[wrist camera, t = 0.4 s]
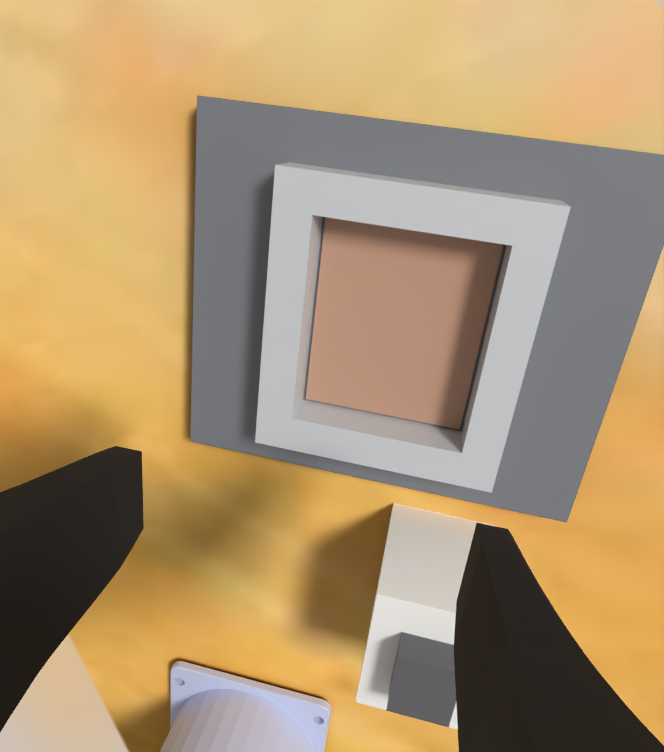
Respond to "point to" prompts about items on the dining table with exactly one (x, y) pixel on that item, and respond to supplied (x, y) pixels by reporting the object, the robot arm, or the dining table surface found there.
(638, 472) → the dining table surface
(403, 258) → the socket dock
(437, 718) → the plug
